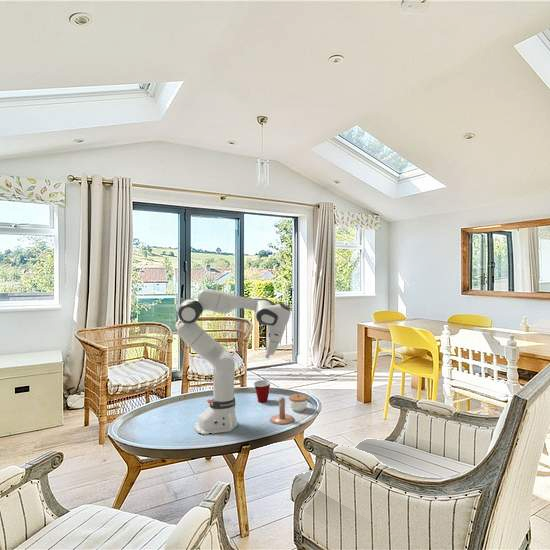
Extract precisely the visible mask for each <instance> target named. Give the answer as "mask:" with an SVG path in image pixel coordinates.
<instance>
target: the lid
mask: <svg viewBox="0 0 550 550" xmlns="http://www.w3.org/2000/svg"><path fill="white" fill-rule="evenodd" d="M278 405H279V406H278V407H279V408H278V409H279V413H278V414H275V415H272V416H271V417H272V418H271V417H270V418H271V421H272V422H273V423H276V424H288V425H290V424H289V423H291V422H292V421H293V418H294V417H293V416H292V415H290V414H286V398H285V397H283V396H281V397H279V399H278ZM273 423H272V424H273ZM276 424H275V425H276ZM291 424H292V423H291Z"/></svg>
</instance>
